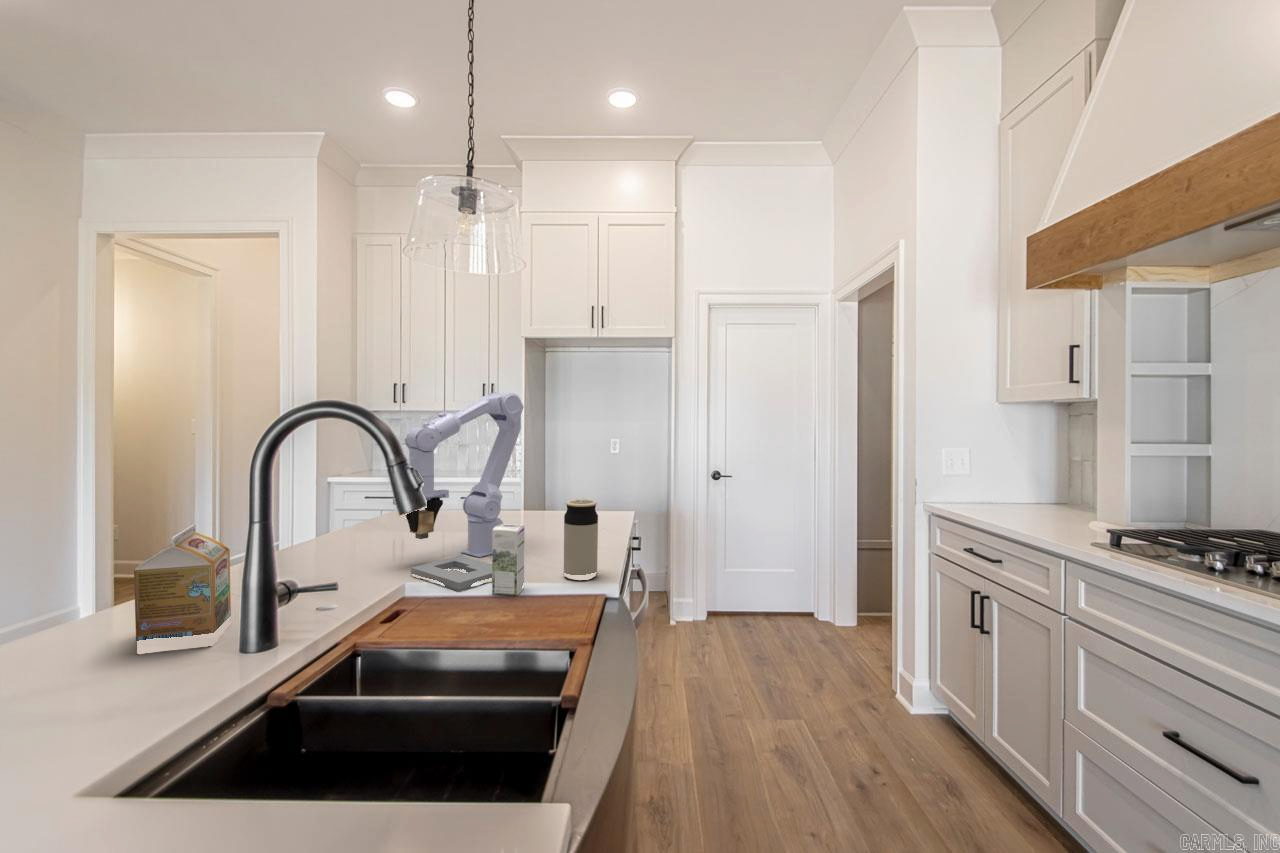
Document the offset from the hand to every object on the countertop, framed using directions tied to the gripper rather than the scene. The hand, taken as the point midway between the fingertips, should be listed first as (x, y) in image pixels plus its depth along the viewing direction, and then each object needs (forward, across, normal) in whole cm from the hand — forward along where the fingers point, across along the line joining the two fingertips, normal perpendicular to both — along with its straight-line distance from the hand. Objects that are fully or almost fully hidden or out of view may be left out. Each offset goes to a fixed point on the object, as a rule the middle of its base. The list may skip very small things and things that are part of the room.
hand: (421, 529), depth 151 cm
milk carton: (+9, +52, +8) cm, 53 cm away
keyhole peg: (+2, 0, 0) cm, 2 cm away
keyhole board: (+9, 0, +15) cm, 17 cm away
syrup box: (+9, 0, +32) cm, 33 cm away
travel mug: (+9, -18, +37) cm, 42 cm away
